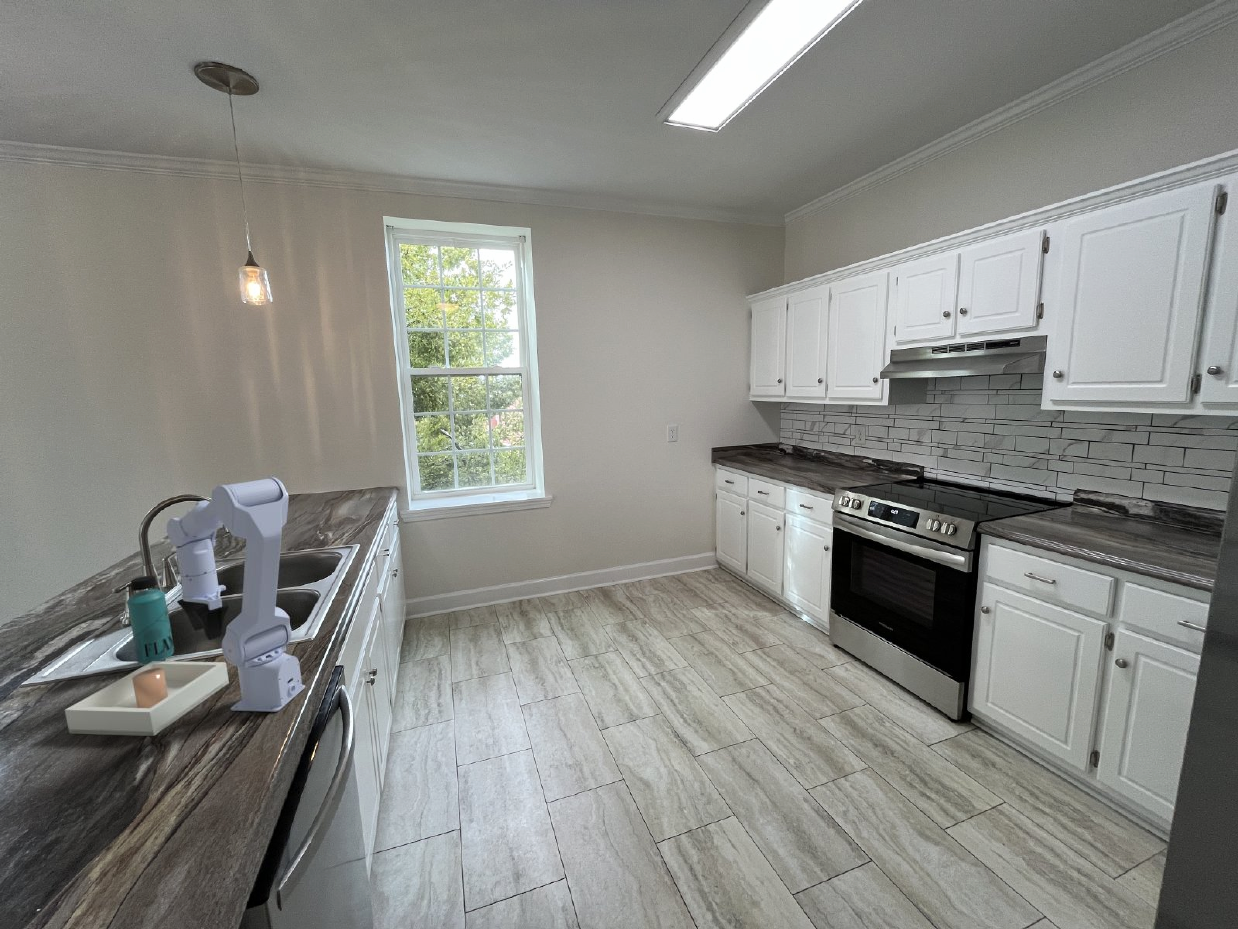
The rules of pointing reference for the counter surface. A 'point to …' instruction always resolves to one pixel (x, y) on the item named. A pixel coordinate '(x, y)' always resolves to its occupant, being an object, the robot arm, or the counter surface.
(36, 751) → the counter surface
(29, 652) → the counter surface
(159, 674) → the peach cylinder
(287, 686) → the robot arm
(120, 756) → the counter surface
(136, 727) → the bin
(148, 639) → the beverage bottle
